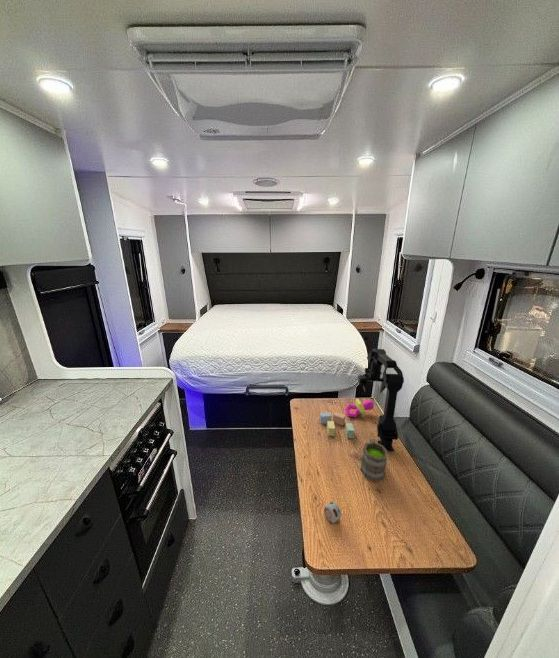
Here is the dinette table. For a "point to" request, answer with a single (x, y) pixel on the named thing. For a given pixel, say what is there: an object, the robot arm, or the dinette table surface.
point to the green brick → (349, 430)
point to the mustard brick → (330, 428)
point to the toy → (359, 408)
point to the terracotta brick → (339, 418)
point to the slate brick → (325, 417)
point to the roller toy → (332, 512)
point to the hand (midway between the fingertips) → (372, 392)
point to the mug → (374, 461)
